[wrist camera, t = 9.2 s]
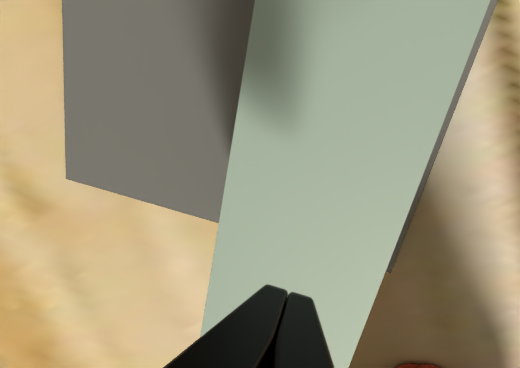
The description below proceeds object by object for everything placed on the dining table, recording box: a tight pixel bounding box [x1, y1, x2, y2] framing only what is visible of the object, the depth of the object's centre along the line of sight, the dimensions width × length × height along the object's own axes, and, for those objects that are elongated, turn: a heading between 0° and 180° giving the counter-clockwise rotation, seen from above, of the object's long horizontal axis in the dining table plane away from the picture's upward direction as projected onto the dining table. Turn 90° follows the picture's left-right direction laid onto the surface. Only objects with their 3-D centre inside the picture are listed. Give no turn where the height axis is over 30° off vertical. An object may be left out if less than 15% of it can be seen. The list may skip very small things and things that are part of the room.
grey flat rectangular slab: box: [62, 0, 498, 273], centre depth 19 cm, size 16×14×1 cm
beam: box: [200, 0, 490, 368], centre depth 13 cm, size 14×4×4 cm, turn 170°
